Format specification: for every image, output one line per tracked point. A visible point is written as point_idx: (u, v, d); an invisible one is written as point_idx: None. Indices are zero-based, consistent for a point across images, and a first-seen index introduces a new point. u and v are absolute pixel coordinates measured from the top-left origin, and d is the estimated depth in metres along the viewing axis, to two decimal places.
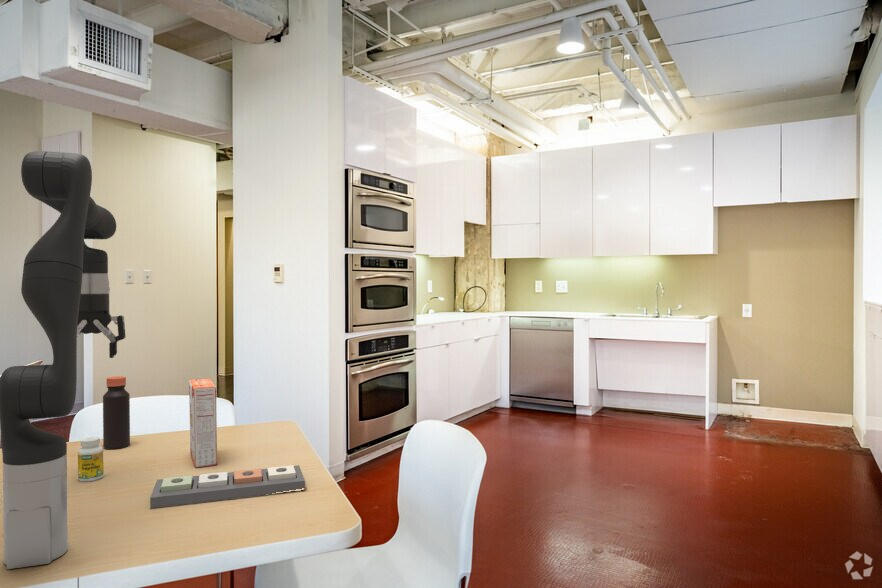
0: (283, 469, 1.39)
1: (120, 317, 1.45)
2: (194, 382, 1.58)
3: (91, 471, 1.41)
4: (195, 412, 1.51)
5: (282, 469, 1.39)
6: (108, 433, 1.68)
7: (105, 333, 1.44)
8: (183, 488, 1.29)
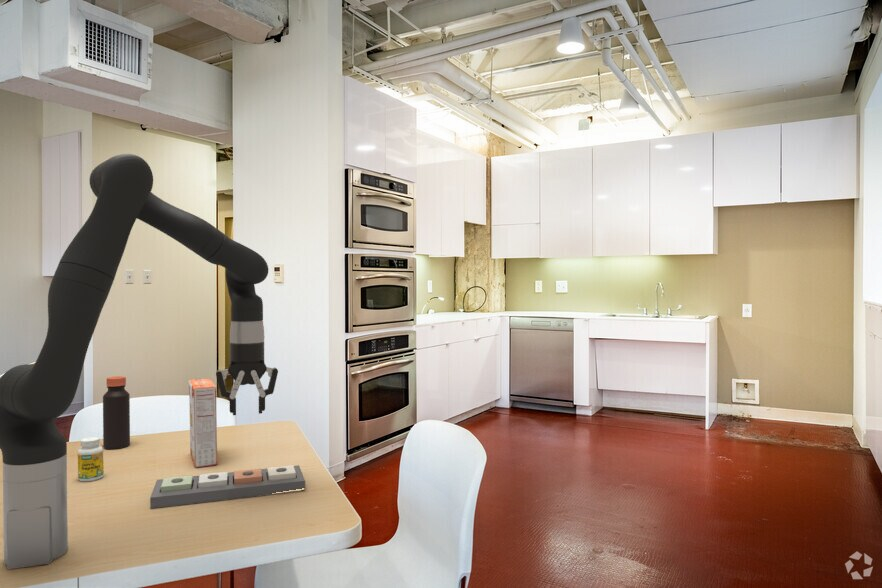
0: (283, 469, 1.39)
1: (276, 370, 1.37)
2: (194, 382, 1.58)
3: (91, 471, 1.41)
4: (195, 412, 1.51)
5: (282, 469, 1.39)
6: (108, 433, 1.68)
7: (258, 386, 1.35)
8: (183, 488, 1.29)
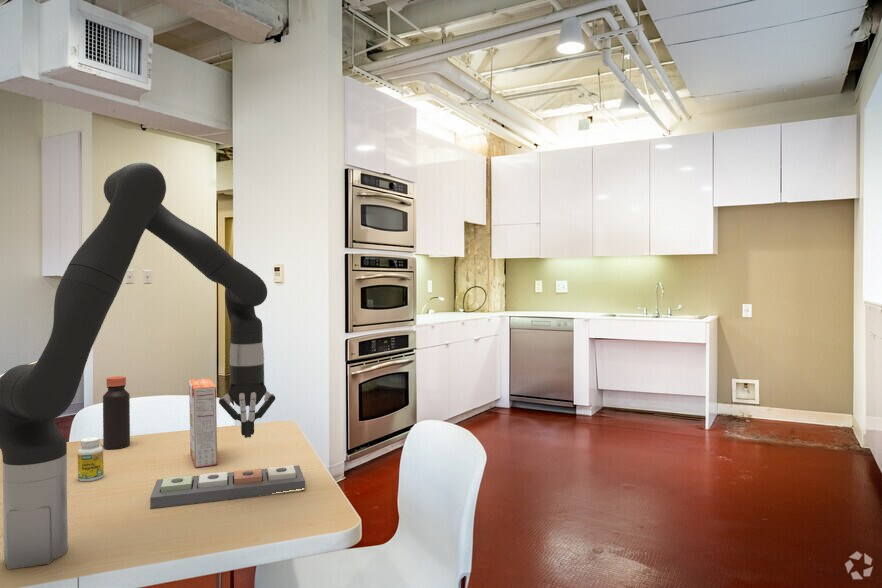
0: (283, 469, 1.39)
1: (273, 398, 1.37)
2: (194, 382, 1.58)
3: (91, 471, 1.41)
4: (195, 412, 1.51)
5: (282, 469, 1.39)
6: (108, 433, 1.68)
7: (251, 409, 1.35)
8: (183, 488, 1.29)
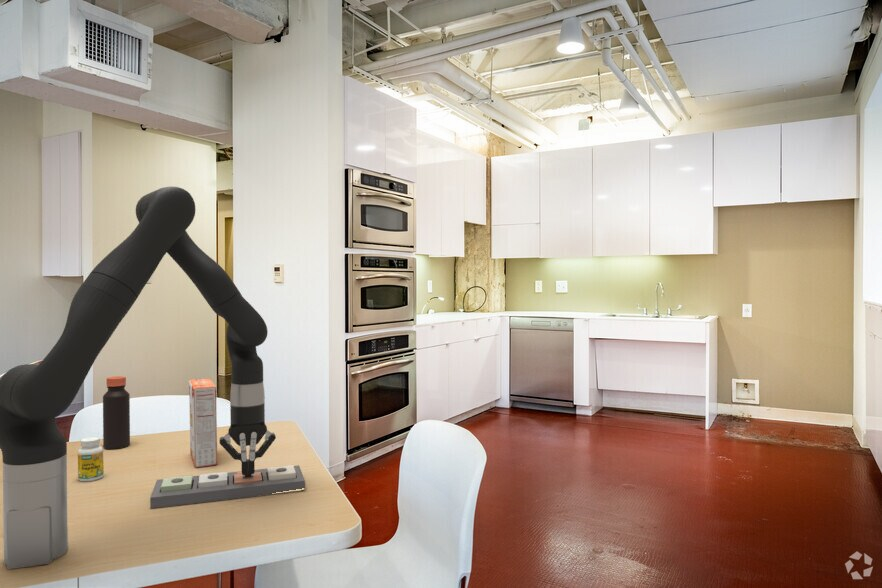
0: (283, 469, 1.39)
1: (274, 437, 1.37)
2: (194, 382, 1.58)
3: (91, 471, 1.41)
4: (195, 412, 1.51)
5: (282, 469, 1.39)
6: (108, 433, 1.68)
7: (252, 449, 1.35)
8: (183, 488, 1.29)
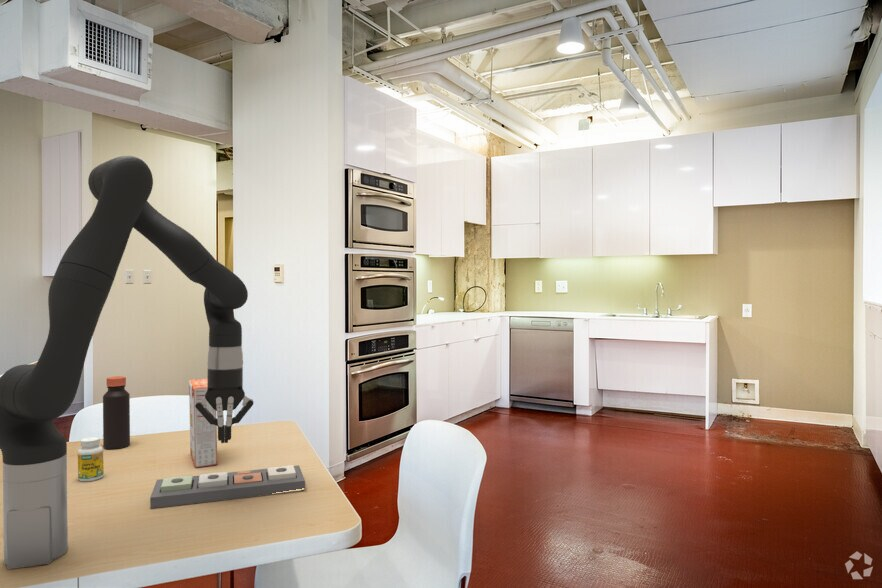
0: (283, 469, 1.39)
1: (251, 403, 1.35)
2: (194, 382, 1.58)
3: (91, 471, 1.41)
4: (195, 412, 1.51)
5: (282, 469, 1.39)
6: (108, 433, 1.68)
7: (228, 414, 1.33)
8: (183, 488, 1.29)
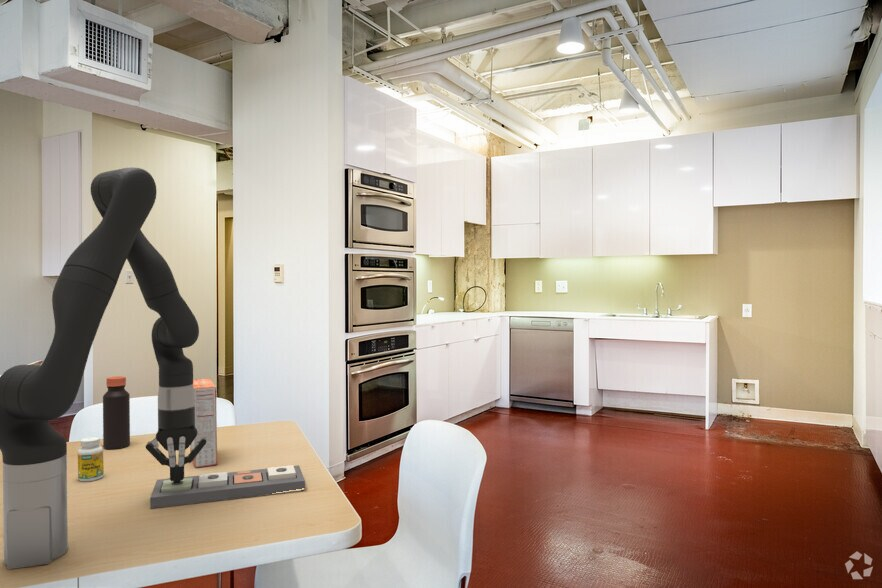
0: (283, 469, 1.39)
1: (204, 442, 1.32)
2: (194, 382, 1.58)
3: (91, 471, 1.41)
4: (195, 412, 1.51)
5: (282, 469, 1.39)
6: (108, 433, 1.68)
7: (180, 454, 1.30)
8: None
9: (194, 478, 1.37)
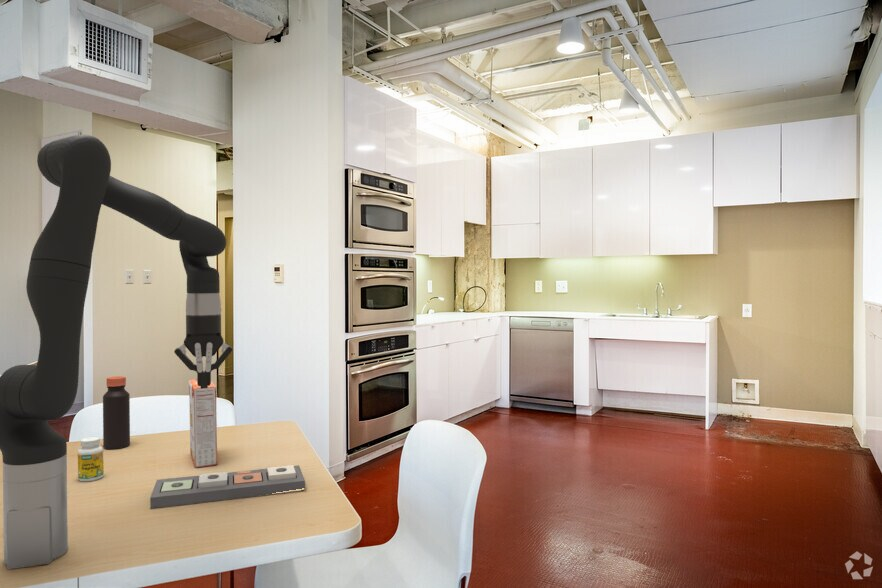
0: (283, 469, 1.39)
1: (230, 349, 1.37)
2: (194, 382, 1.58)
3: (91, 471, 1.41)
4: (195, 412, 1.51)
5: (282, 469, 1.39)
6: (108, 433, 1.68)
7: (207, 359, 1.35)
8: None
9: (194, 478, 1.37)
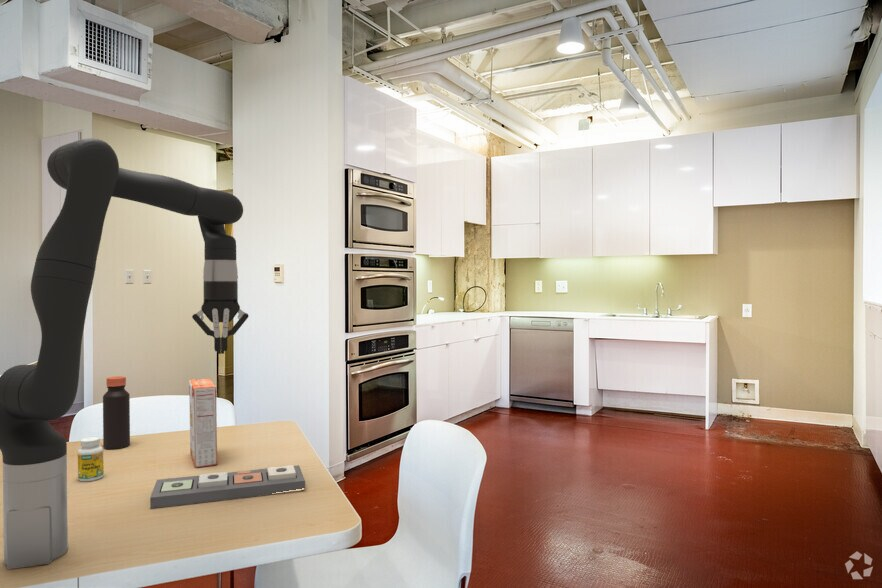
0: (283, 469, 1.39)
1: (246, 316, 1.39)
2: (194, 382, 1.58)
3: (91, 471, 1.41)
4: (195, 412, 1.51)
5: (282, 469, 1.39)
6: (108, 433, 1.68)
7: (224, 325, 1.37)
8: None
9: (194, 478, 1.37)
